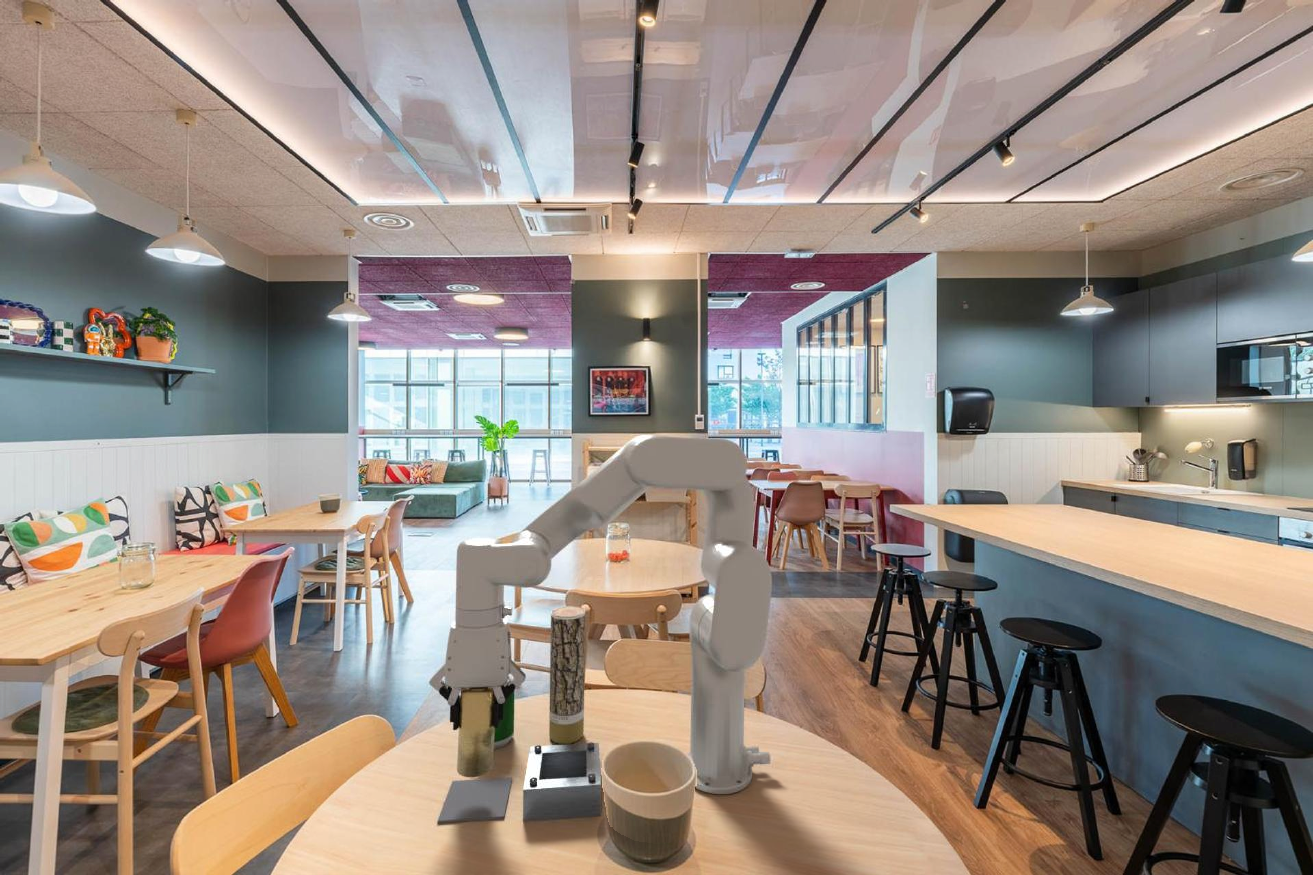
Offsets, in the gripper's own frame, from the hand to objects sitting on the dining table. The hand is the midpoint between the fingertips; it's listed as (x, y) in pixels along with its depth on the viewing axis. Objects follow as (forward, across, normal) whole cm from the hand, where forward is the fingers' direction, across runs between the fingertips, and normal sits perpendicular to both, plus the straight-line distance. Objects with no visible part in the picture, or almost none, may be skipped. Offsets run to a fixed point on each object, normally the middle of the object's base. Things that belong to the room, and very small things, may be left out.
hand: (477, 723), depth 91 cm
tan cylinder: (+7, 0, 0) cm, 7 cm away
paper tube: (+13, -14, -18) cm, 26 cm away
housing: (+13, -14, 0) cm, 19 cm away
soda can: (+13, 0, -18) cm, 22 cm away
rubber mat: (+13, 0, 0) cm, 13 cm away
